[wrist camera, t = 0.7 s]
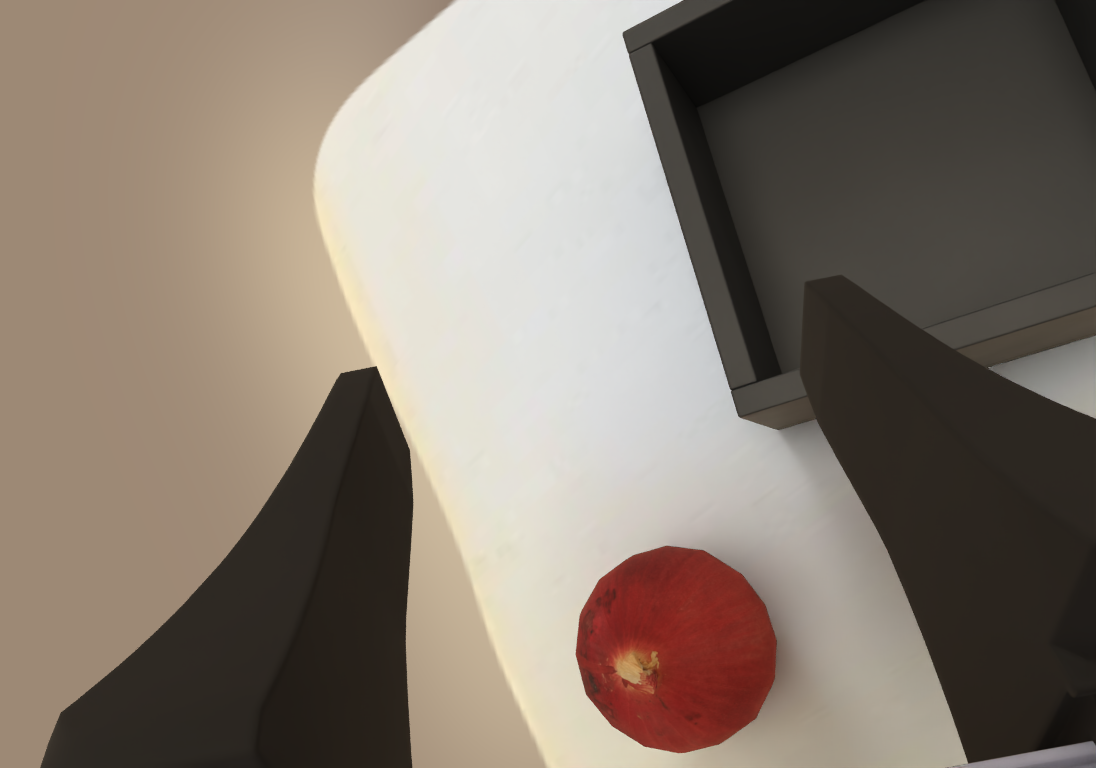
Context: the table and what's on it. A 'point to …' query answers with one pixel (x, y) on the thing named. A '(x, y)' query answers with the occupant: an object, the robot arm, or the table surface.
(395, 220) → the table surface
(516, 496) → the table surface
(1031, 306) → the open storage bin
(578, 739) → the table surface
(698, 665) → the onion
